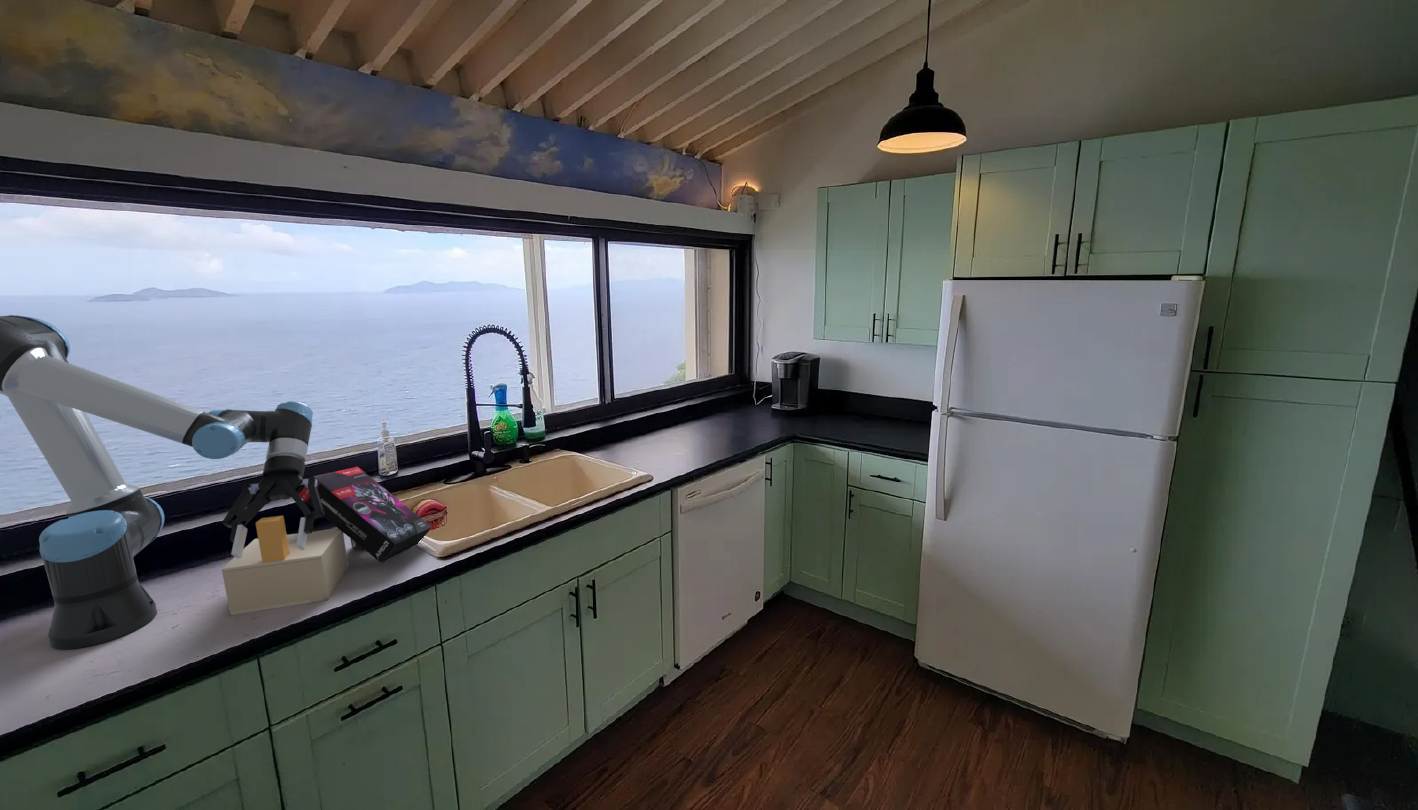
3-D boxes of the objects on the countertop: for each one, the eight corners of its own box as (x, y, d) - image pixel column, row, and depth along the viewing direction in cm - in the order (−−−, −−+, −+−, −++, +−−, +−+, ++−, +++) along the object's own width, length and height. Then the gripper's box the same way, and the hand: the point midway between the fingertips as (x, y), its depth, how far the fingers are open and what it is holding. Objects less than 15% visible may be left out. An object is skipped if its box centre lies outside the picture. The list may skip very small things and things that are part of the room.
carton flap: (222, 571, 117) (213, 528, 115) (255, 541, 132) (248, 502, 130) (321, 557, 123) (315, 516, 121) (342, 530, 137) (337, 493, 136)
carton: (230, 615, 119) (222, 572, 117) (262, 580, 134) (255, 541, 132) (328, 599, 124) (321, 558, 123) (348, 568, 139) (342, 530, 137)
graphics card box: (395, 545, 135) (311, 472, 135) (378, 566, 135) (294, 494, 136) (434, 527, 152) (359, 463, 153) (418, 547, 152) (343, 482, 153)
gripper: (347, 464, 137) (337, 549, 125) (232, 475, 129) (210, 566, 118) (338, 448, 131) (326, 536, 119) (217, 459, 123) (192, 554, 112)
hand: (268, 551), depth 118 cm, fingers open, 11 cm apart
